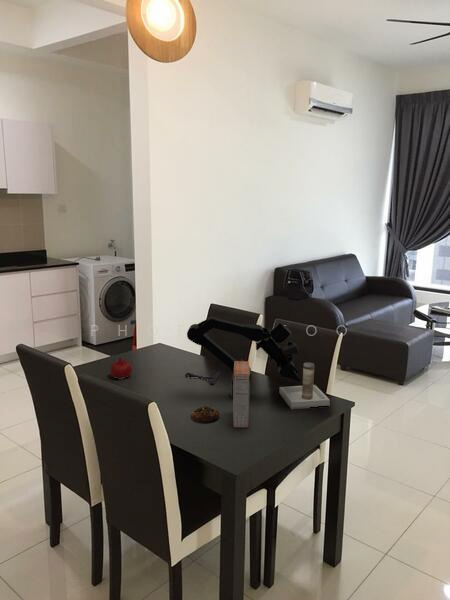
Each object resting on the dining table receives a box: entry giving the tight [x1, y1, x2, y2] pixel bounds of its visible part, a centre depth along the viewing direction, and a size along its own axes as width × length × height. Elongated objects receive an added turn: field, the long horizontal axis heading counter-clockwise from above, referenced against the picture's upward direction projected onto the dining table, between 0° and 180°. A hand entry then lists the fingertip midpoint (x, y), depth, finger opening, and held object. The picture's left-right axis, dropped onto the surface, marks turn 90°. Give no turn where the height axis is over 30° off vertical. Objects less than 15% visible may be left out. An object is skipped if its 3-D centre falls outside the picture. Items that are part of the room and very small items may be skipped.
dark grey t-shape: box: [184, 371, 221, 386], centre depth 231 cm, size 14×15×3 cm
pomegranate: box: [109, 357, 133, 378], centre depth 230 cm, size 10×10×9 cm
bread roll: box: [190, 405, 220, 424], centre depth 191 cm, size 11×11×5 cm
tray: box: [278, 384, 331, 410], centre depth 209 cm, size 16×16×3 cm
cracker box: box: [232, 360, 251, 429], centre depth 187 cm, size 14×6×21 cm, turn 178°
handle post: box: [301, 362, 315, 400], centre depth 207 cm, size 4×4×14 cm
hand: (298, 377), depth 207 cm, fingers open, 9 cm apart
